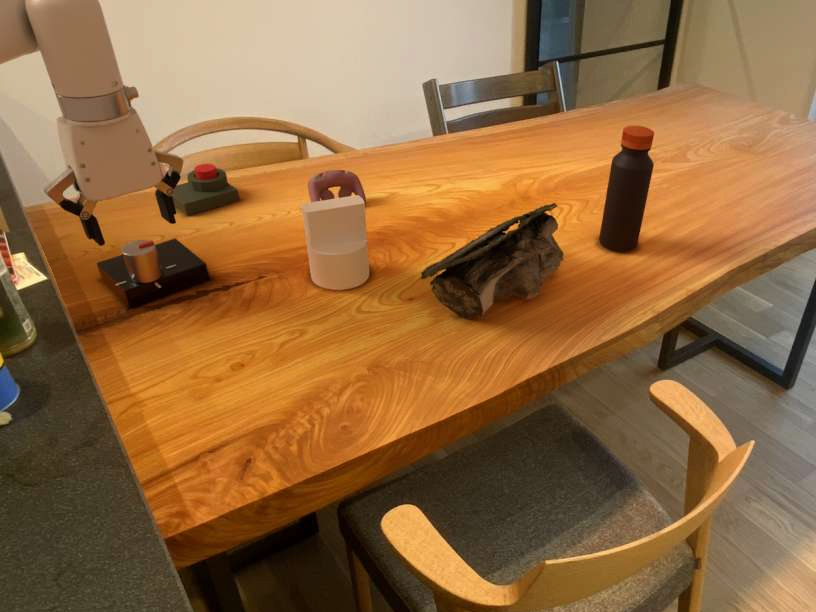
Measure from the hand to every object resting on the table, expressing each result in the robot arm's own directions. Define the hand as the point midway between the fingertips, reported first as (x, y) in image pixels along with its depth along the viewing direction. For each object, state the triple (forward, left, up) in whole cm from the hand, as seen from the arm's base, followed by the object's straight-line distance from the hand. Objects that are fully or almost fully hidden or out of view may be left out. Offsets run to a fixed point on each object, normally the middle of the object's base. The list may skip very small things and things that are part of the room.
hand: (134, 230), depth 95 cm
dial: (0, 0, -7) cm, 7 cm away
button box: (+20, +24, -10) cm, 33 cm away
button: (+22, +25, -7) cm, 34 cm away
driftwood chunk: (+39, -32, -10) cm, 51 cm away
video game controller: (+38, +8, -10) cm, 40 cm away
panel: (+2, +2, -10) cm, 11 cm away
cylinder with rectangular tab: (+24, -13, -10) cm, 29 cm away
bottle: (+67, -35, -10) cm, 76 cm away
